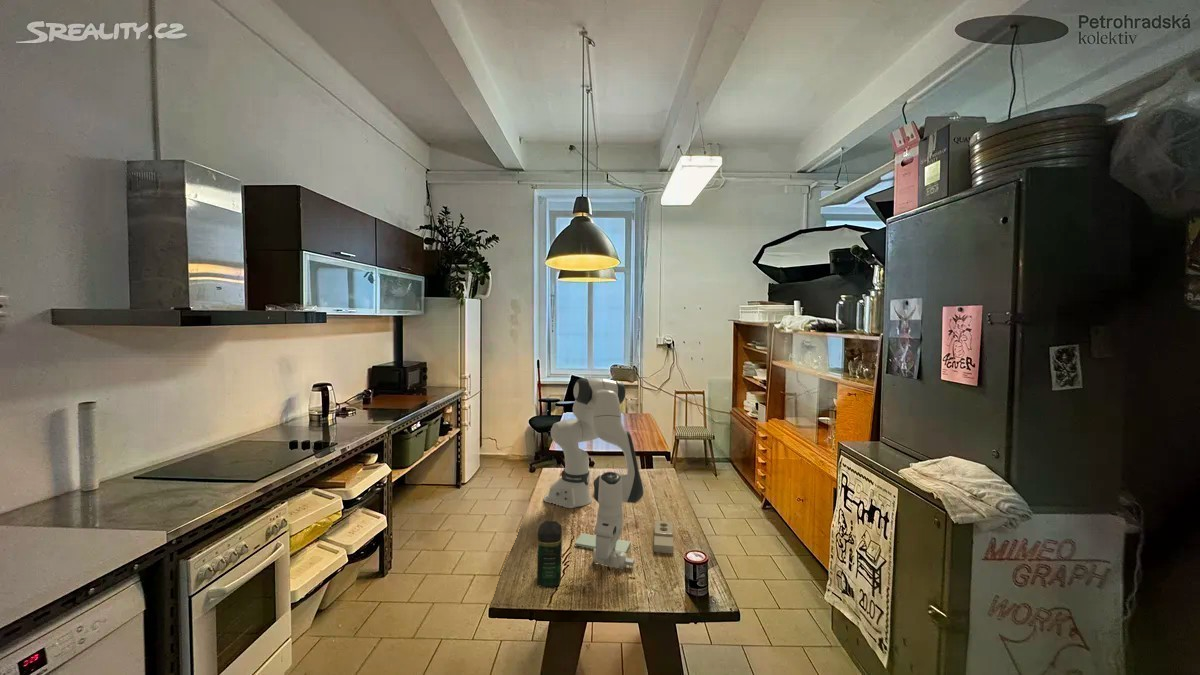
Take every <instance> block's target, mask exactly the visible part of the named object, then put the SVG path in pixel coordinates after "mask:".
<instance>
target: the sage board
mask: <svg viewBox="0 0 1200 675" xmlns="http://www.w3.org/2000/svg"><path fill="white" fill-rule="evenodd" d="M575 545H576V546H575ZM631 545H632V541H631V540H630V541H629V540H623V539H618V541H617V543H616V548H615V550H616V551H621V552H625V553H626V554H627V553H628V551H629V549H630V547H631ZM574 546H575V547H577V546H582V547H581V548H583V547H586V548H585V549H588V548H593V549H592V550H594V549H595V548H596V535H595V534H589V533H584V532H583V533H582V532H581V533H580V535H579V536H578V537H577V539H576V540H575V541H574Z"/></svg>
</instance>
